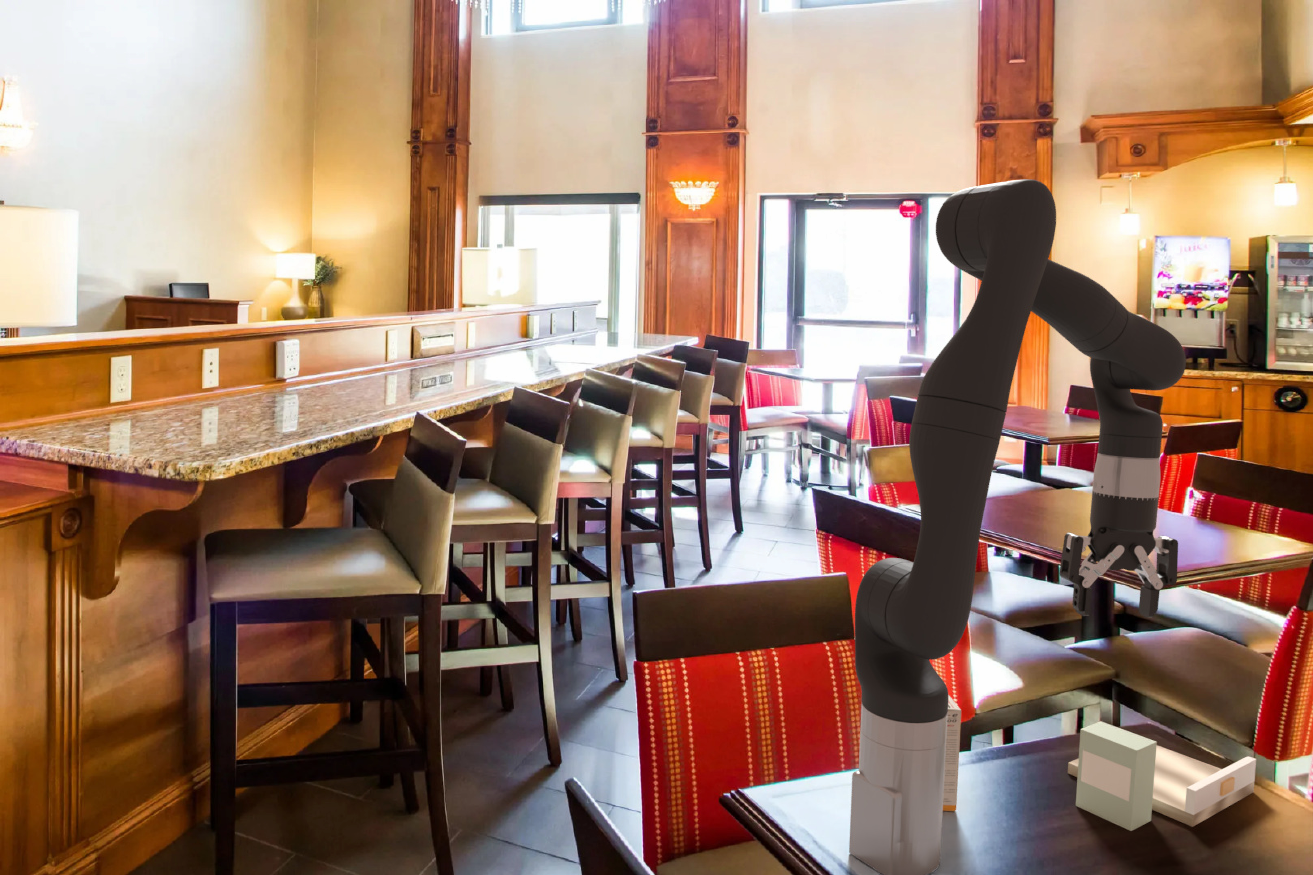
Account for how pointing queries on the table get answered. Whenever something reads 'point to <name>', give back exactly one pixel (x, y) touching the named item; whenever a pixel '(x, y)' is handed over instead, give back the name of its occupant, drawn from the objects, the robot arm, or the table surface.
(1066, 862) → the table surface
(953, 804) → the supplement box
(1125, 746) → the carton
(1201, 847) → the table surface
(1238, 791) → the shelf board
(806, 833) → the table surface
